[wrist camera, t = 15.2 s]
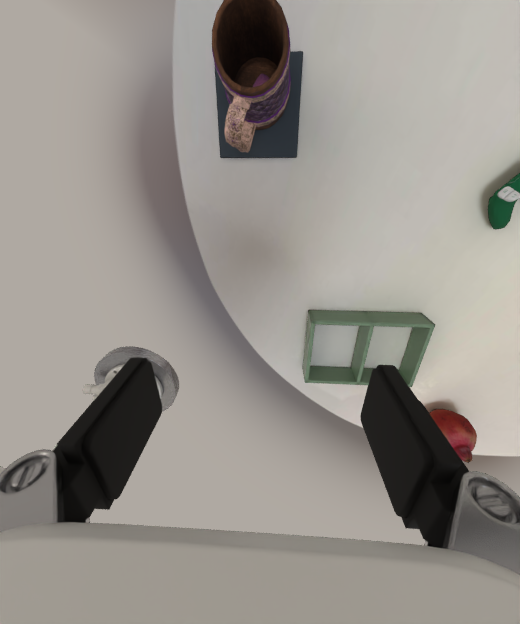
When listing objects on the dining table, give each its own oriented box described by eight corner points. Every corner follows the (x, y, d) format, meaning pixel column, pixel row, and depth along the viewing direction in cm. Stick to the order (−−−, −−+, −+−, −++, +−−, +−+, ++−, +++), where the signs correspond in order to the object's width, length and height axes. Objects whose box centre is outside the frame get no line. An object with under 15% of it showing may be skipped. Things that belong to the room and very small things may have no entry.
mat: (220, 157, 32) (220, 157, 32) (214, 55, 28) (213, 53, 28) (296, 157, 32) (296, 157, 32) (302, 52, 27) (303, 51, 27)
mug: (239, 42, 27) (215, -52, 16) (298, 68, 28) (313, -6, 17) (216, 147, 32) (187, 127, 21) (268, 167, 32) (265, 157, 22)
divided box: (302, 368, 48) (304, 382, 44) (308, 309, 42) (311, 321, 38) (401, 371, 47) (412, 387, 43) (421, 312, 41) (435, 324, 37)
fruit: (407, 421, 53) (434, 469, 44) (428, 395, 49) (462, 441, 40) (441, 430, 53) (475, 478, 44) (465, 404, 49) (506, 452, 41)
